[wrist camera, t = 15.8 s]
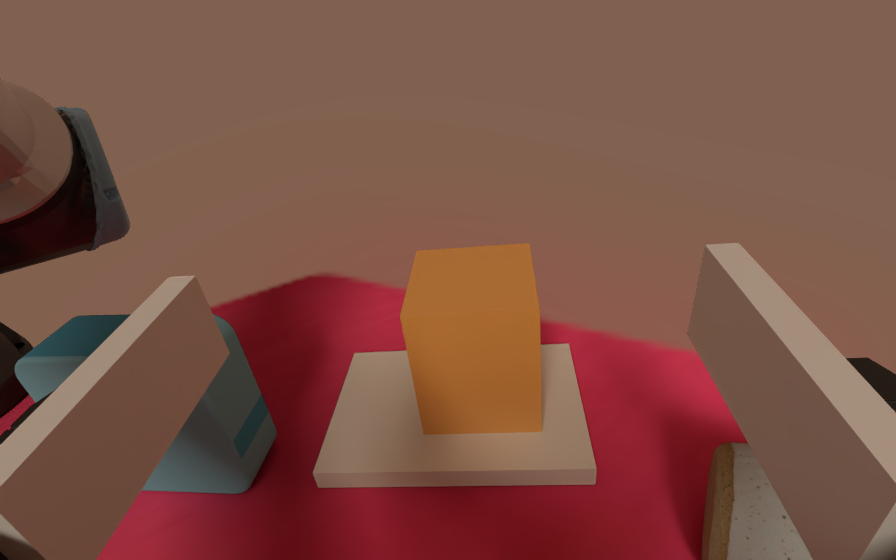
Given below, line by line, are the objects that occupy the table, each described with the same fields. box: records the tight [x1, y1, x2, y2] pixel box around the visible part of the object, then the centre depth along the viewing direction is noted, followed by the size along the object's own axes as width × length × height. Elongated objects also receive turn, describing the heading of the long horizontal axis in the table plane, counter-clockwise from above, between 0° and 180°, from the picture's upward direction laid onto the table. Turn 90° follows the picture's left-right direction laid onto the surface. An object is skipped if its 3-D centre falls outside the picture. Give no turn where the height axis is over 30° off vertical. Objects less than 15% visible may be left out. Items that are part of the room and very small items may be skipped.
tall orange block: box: [400, 243, 542, 435], centre depth 34 cm, size 8×8×10 cm
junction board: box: [313, 344, 597, 488], centre depth 35 cm, size 18×12×8 cm, turn 87°
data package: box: [15, 314, 277, 494], centre depth 33 cm, size 12×4×12 cm, turn 84°
